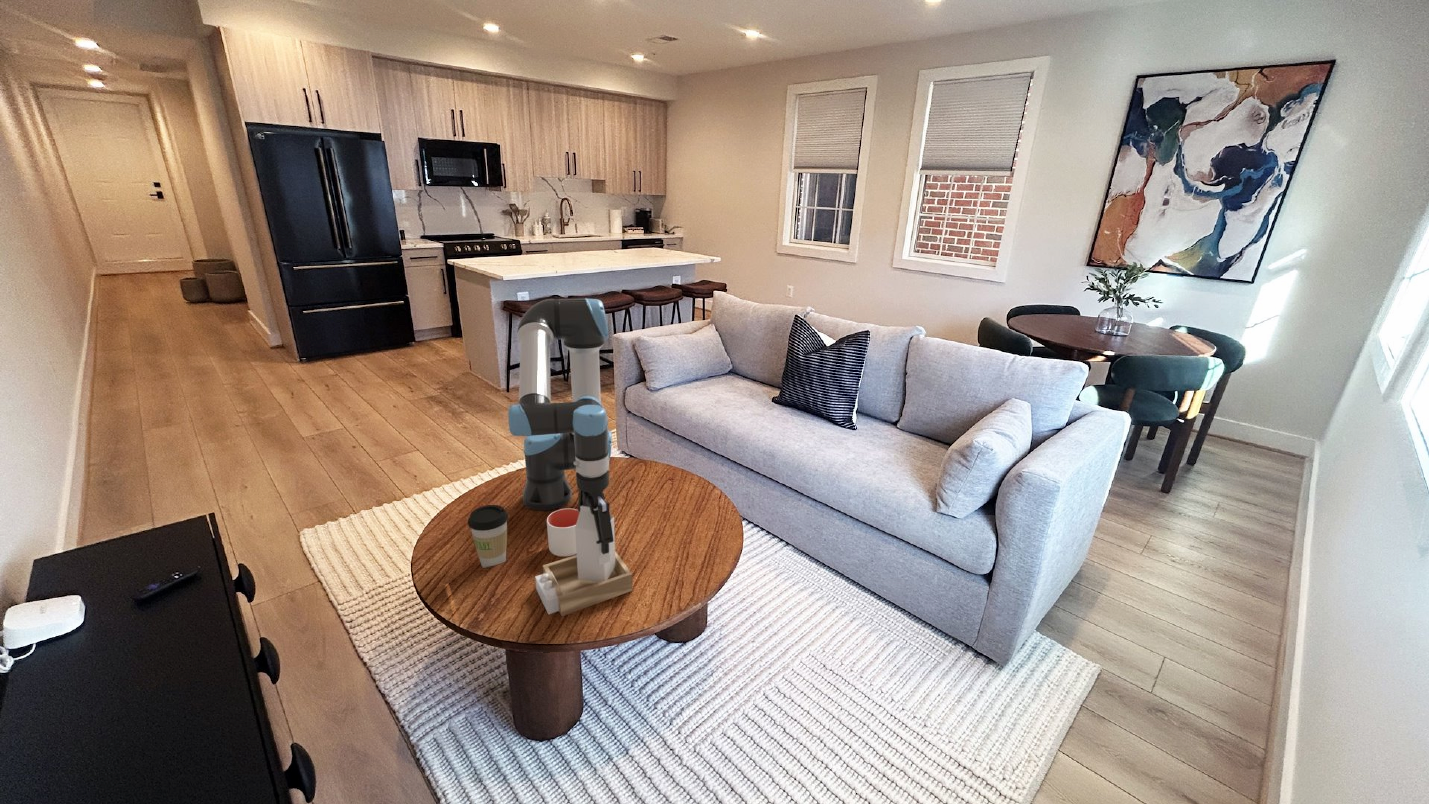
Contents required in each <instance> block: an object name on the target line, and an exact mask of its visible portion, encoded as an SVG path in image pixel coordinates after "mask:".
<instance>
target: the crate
mask: <svg viewBox="0 0 1429 804" xmlns="http://www.w3.org/2000/svg"><path fill="white" fill-rule="evenodd" d="M542 571H543V573H542V574H545V573H547V574H548V577H549V580H551V581H552V585H553V588H556V593H557V596H558V604H559V611H558V612H559V614H560V615H561V617H563V616H566V615H569V614H572V613H575V612H578V611H580V610H583V609H585V608H589V607H591V606H594V605H597V604H600V603H602V602H605V601H608V600H610V599H614V598H617V597H618V596H621V595H624V594H627V593H630V592H632V591H633V588H634V587H633V573H632V571H631V570H630V568H628V566H627V565H626V563H625V562H624V561H623V560H622V558H621V557H620V555H619V554H618V553H617V552H616V550H615V568H614V569H613V571H612V573H611V574H610V576H609V578H608V579H607V580H605V581H602V582H599V583H597V582H591V581H585V580H580V579H578V568H577V554H575V555H572V556H567V557H564V558H563V559H560V560H559V559H558V560H556V561H553V562H549V563H546V564H543V565H542ZM551 571H552V573H553V575H554V577H555V579H556V580H555V579H554V577H553V575H552V573H551ZM556 581H557V582H556ZM557 583H558V584H559V586H560V588H561V590H562V592H563V593H562V592H561V590H560V588H559V586H558V584H557ZM563 594H564V595H563Z"/></svg>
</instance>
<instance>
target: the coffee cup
mask: <svg viewBox="0 0 1429 804" xmlns="http://www.w3.org/2000/svg"><path fill="white" fill-rule="evenodd" d="M508 520H509V514H508V511H506V509H505V508H504V507H503V506H501V505H497V504H486V505H483V506H479V507H477V508H475V509H474V510H472V511H471V513H470V514H469V517H468V520H467V525H468V527H469V528H470V530H471V537H472V539H473V543H474V546H475V550H476V553H477V556H478V558H479V559H478V560H479V562H480V566H481V567H482V568H484V569H486V568H490V567H493V566H498V565H500V564H503V563H506V560H507V558H506V557H507V547H508V545H507V543H508V540H507V539H508V525H507V524H508V522H507V521H508Z"/></svg>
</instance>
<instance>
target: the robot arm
mask: <svg viewBox="0 0 1429 804" xmlns="http://www.w3.org/2000/svg"><path fill="white" fill-rule="evenodd" d="M516 332H517V335H516V337H517V340H518V341H517V342H518V343H519V344H520V357H519V379H518V380H519V385H518V403H516V404H512V405H510V406H509V407H508V411H507V418H508V419H507V420H508V429H509V432H510V435H512V436H514V437H525V438H524V440H523V455H524V461H525V463H524V464H525V473H526V475H525V476H526V481H525V485H524V488H523V492H522V503H523V505H524V506H525V507H526V508H527V509H530V510H533V511H538V512H539V511H540V512H541V511H542V512H543V511H547V512H548V511H552V510H553V511H554V510H557V509H559V508H560V509H561V508H562V507H564V506H566V505H567V504H568V503H569V502H570V501H571V499H572V488H571V486H570V483H569V481H568V479H567V477H566V475H565V471H571V470H575V471H576V472H575V476H576V487H577V488H578V501H577V510H578V511H579V512H580V506H587V507H590V511H591V514H593V515H594V520H595V524H596V529H597V533H598V538H599V540H597V541H596V543H597V546H598V564H599V565H601V564H604V563H607V562H610V545H609V543H611V542H613V533H612V526H611V519H610V515H611V513H610V502H609V501H605V499H606V497H605V494H604V491H605V490H606V489H607V488H608V487H609V485H610V470H609V469H610V460H611V455H612V444H613V441H612V440H613V438H612V437H613V436H612V431H611V430H609V429H608V426H609V422H608V416H607V410H606V409H605V408H604V407H603V405H602V400H601V399H602V398H601V397H602V396H601V395H602V393H601V372H600V371H601V369H600V368H601V367H600V350H601V349H602V347H604V345H605V342H604V340H606V339H609V329H608V323H607V317H606V311H605V307H604V302H602V300H600V299H597V298H587V297H585V298H584V297H583V298H581V297H580V298H547V299H543V300H540V301H539V302H536V303H535V304H533V305H532V306H531V307H529V309H527V310H526V312H525V313H524V314H523V315H522V317H521V319H520V321H519V323H518V326H517V331H516ZM554 340H556V341H559V340H563V346H564V348H566V349H567V350H568V351H569V362H570V363H569V364H570V366H569V368H570V381H571V398H572V401H565V402H552V401H551V400H552V399H551V398H552V396H551V389H552V387H551V345H552V344H553V342H554ZM594 509H597V510H594Z"/></svg>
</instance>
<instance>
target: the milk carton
mask: <svg viewBox="0 0 1429 804" xmlns="http://www.w3.org/2000/svg"><path fill="white" fill-rule="evenodd" d="M594 510H597V509H594ZM610 519H611V526H612V533H613V542H611V543H609V545H610V562H607V563H604V564H601V565H599V564H598V546H597V543H596V541H597V540H599V538H598V533H597V529H596V524H595V520H594V515H593V514H591V511H590V507H587V506H583V505H582V506H580V513H579V516H578V520H577V523H576V526H575V534H576V551H577V554H576V555H577V568H578V579H580V580H585V581H591V582H597V583H599V582H602V581H605V580H607V579H608V578H609V576H610V574H611V573H612V571H613V569H614V568H615V551H616V542H615V541H616V540H615V539H616V537H615V534H616V533H615V516H614V515H612V514H610Z"/></svg>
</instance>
